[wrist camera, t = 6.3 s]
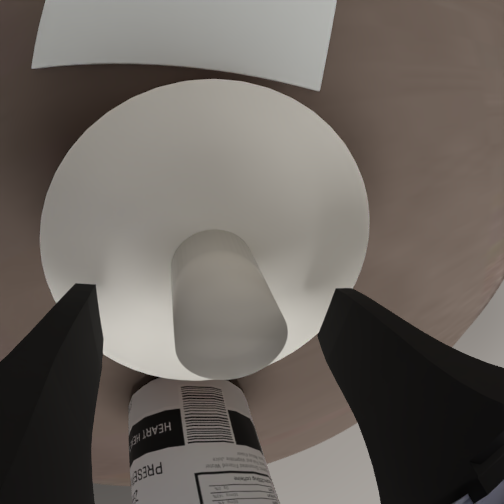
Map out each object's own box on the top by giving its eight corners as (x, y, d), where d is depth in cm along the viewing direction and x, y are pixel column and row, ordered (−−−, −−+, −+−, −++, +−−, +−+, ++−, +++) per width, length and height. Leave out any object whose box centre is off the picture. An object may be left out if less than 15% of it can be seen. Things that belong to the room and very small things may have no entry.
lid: (73, 363, 12) (60, 443, 8) (48, 74, 7) (-31, 72, 3) (312, 359, 15) (346, 426, 12) (391, 123, 10) (480, 151, 6)
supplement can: (247, 418, 22) (304, 583, 10) (149, 433, 21) (175, 601, 8) (239, 355, 18) (323, 593, 6) (111, 375, 17) (125, 612, 4)
